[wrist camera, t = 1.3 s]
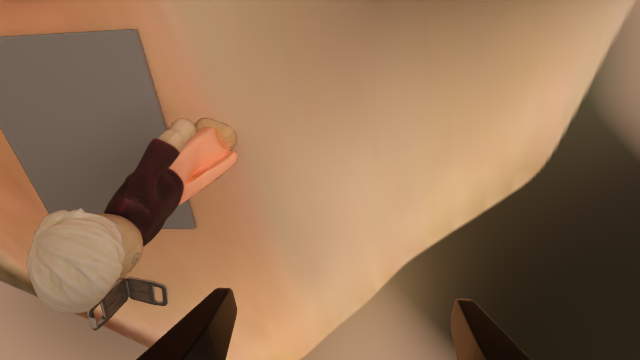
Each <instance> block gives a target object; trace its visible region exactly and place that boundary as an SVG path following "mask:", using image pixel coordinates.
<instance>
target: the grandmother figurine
mask: <svg viewBox="0 0 640 360" xmlns="http://www.w3.org/2000/svg"><path fill="white" fill-rule="evenodd" d="M236 140H237V138H236V134H235V132H234V130H233V129H232V128H231V127H229V126H228V125H225V124H222V123H220V122H216V121H214V120H211V119H207V118H203V119H200V120H199V121H198V122H197V124H196V126H194V124H193V123H192V122H191V121H190V120H187V119H183V118H181V119H178V120H176V121H175V122H174V123H173V124H172V126H171V129H170V130H166V131H165V132H164V133H163V134H162V135H160V136H159V137H158V138H155V139H153V140H152V141H151V142H150V143H149V145H148V146H147V149H146V151H145V153H144V154H143V156H142V158H141V161H140V162H139V164H138V166H137V168H136V169H135V171H134V172H133V173H131V174H130V175H128V176H127V177H126V179H125V181H124V183H123V184H122V185H121V186H120V188H119V189H118V190H117V191H116V192H115V194H114V195H113V197H112V199H111V200H110V201H109V203H108V205H107V207H106V209H105V211H104V213H103V214H98V215H97V214H91V213H87V212H85V211H84V210H82V208H80V209H78V210H73V211H71V212H70V211H67V210H60V211H57V212H54V213H51V214H49V215H47V216H46V217H45V218H44V219H43V220H42V221H41V223H40V225H39V228H38V229H37V230H36V231H35V233H34V237H33V240H32V245H31V248H30V250H29V253H28V260H27V268H28V275H29V278H30V280H31V282H32V285H33V287H34V289H35V292H36V294H37V296H38V297H39V299H40V300H41V301H42V303H43V304H45V305H46V306H47V307H48V308H50V309H52V310H54V311H58V312H62V313H82V312H86V311H88V310H90V309H91V308H93V307H94V306H95V305H97V304H98V303H99V302H100V301H101V300H102V299H103V298H104V297H105V296H106V295H107V293H108V292H109V291H110V289H111V287H112V286H113V285H114V284H115V282H116V281H117V279H119V278H121V277H123V276H124V275H126V274H127V273H128V272H130V271H131V270H132V269H133V268H134V266H135V265H136V264H137V262H138V261H139V259H140V257H141V254H142V250H143V246H145V245H146V244H147V243H149V242H150V241H151V240H152V239H153V238H154V237H155V236H156V235H157V233H158V232H159V231H160V230H161V228H162V227H163V225H164V223H165V222H166V219H167V218H168V217H169V216H170V215H171V214H172V213H173V212H174V211H175V209H176V208H177V206H178V205H180V204H182V203H184V202H185V201H186V200H188V199H189V198H190V197H192V196H193V195H194V194H196V193H197V192H199V191H200V190H201V189H203V188H204V187H205V186H206V185H208V184H209V183H211V182H212V181H214V180H215V179H217V178H219V177H220V176H221V175H222V173H224V172H225V171H227V170H228V169H229V168H230V167H231V166H232V165H234V164H235V162H236V159H237V154H236V152H234V151H231V150H232V149H233V148H234V146H235V144H236Z"/></svg>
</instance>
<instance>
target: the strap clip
mask: <svg viewBox="0 0 640 360" xmlns="http://www.w3.org/2000/svg"><path fill="white" fill-rule="evenodd" d="M154 286H156V287H159V288H161V289H162V291H163V302H160V301H155V293H154ZM129 296H130V298H131V299H133V300H137V301H141V302H145V303H149V304H153V305H160V306H166V305H167V304H168V296H167V287H166V286H165V285H163V284H161V283H157V282H154V281H149V280H143V279H137V278H131V277H129V278H128V279H126V280H125V279H124V278H123V279H118V280H117V281H116V282H115V284H114V285H113V286H112V287H111V289H110V291H109V292H108V293H107V295H106V296H105V297H104V298H103V299H102V300H101V301H100V302H99V303H98V304H97V305H95V306H94V307H93V308H91V309H90V310H88V311H87V315H88V318H89V322H90V325H91V328H92V329H93V330H97V329H99V328H100V327H101V326H102V325H104V324H105V323H106V322H107V321H108V320H109V319H110V318H111V317H112V316H113V315H114V314H115V313H116V312H117V310H118V309H119V308H120V307H121V306H122V305H123V304H124V303H125V302H126V301H127V299H128V297H129ZM99 304H100V305H101V309H102V313H103V316H102V317H101V318H100V319H99V321H98V322H96V318H95V317H94V313H93V311H94V309H95V308H96V307H97V306H98V305H99Z"/></svg>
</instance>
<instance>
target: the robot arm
mask: <svg viewBox="0 0 640 360" xmlns="http://www.w3.org/2000/svg"><path fill="white" fill-rule="evenodd" d="M236 315H237V306H236V302H235V298H234V294H233V291H232V290H231V289H230V288H217V289H215V290H214V291H213V292H212V293H211V294H209V295H208V296H207V297H206V298H205V299H204V300H203V301H202V302H200V303H199V304H198V305H197V306H196V307H195V308H194V309H193V310H191V311H190V312H189V313H188V314H187V315H186V316H185V317H184V318H182V319H181V320H180V321H179V322H178V323H177V324H176V325H175V326H173V327H172V328H171V329H170V330H169V331H168V332H167V333H166V334H164V335H163V336H162V337H161V338H160V339H159V340H158V341H157V342H156V343H154V344H153V345H152V346H151V347H150V348H149V349H148V350H147V351H145V352H144V353H143V354H142V355H141V356H140V357H139V358H138V359H136V360H226V356H227V352H228V348H229V344H230V340H231V336H232V332H233V328H234V324H235V320H236ZM451 330H452V335H453V340H454V345H455V350H456V356H457V360H531V359H530V358H529V357H528V356H527V355H526V354H525V353H524V352H523V351H522V350H521V349H520V348H519V347H518V346H517V345H516V344H515V343H514V342H513V341H512V340H511V339H510V338H509V337H508V336H507V334H506V333H505V332H504V331H503V330H502V329H501V328H500V327H499V326H498V325H497V324H496V323H495V322H494V321H493V320H492V319H491V318H490V317H489V316H488V315H487V314H486V313H485V312H484V311H483V310H482V309H481V308H480V307H479V306H478V305H477V304H476V302H474V301H473V300H470V299H457V300H456V301H455V304H454V308H453V312H452V316H451Z"/></svg>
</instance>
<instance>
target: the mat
mask: <svg viewBox="0 0 640 360" xmlns="http://www.w3.org/2000/svg"><path fill="white" fill-rule="evenodd" d="M0 128H1V130H2V131H3V133H4V135H5V137H6V138H7V140H8V142H9V144H10V146H11V147H12V149H13V151H14V153H15V154H16V156H17V158H18V160H19V161H20V163H21V165H22V167H23V169H24V170H25V172H26V174H27V176H28V177H29V179H30V181H31V183H32V185H33V186H34V188H35V190H36V192H37V193H38V195H39V197H40V199H41V200H42V202H43V204H44V206H45V208H46V209H47V211H48V213H49V214H51V213H54V212H57V211H60V210H67V211H70V212H71V211H73V210H78V209H80V208H82V210H84V211H85V212H87V213H91V214H97V215H98V214H103V213H104V211H105V209H106V207H107V205H108V203H109V201H110V200H111V199H112V197H113V195H114V194H115V192H116V191H117V190H118V189H119V188H120V186H121V185H122V184H123V183H124V181H125V179H126V177H127V176H128V175H130V174H131V173H133V172H134V171H135V169H136V168H137V166H138V164H139V162H140V161H141V158H142V156H143V154H144V153H145V151H146V149H147V146H148V145H149V143H150V142H151V141H152V140H153V139H155V138H158V137H159V136H160V135H162V134H163V133H164V132H165V131H166V130H167V127H166V123H165V120H164V117H163V113H162V110H161V107H160V103H159V100H158V97H157V93H156V90H155V87H154V83H153V80H152V77H151V73H150V70H149V67H148V63H147V60H146V57H145V53H144V50H143V46H142V43H141V40H140V36H139V33H138V30H137V29H127V30H110V31H92V32H75V33H57V34H40V35H22V36H5V37H0ZM195 228H196V224H195V221H194V217H193V214H192V211H191V207H190V204H189V200H186V201H185V202H184V203H182V204H180V205H178V206H177V208H176V209H175V211H174V212H173V213H172V214H171V215H170V216H169V217H168V218H167V219H166V222H165V223H164V225H163V227H162V228H161V229H195Z"/></svg>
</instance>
